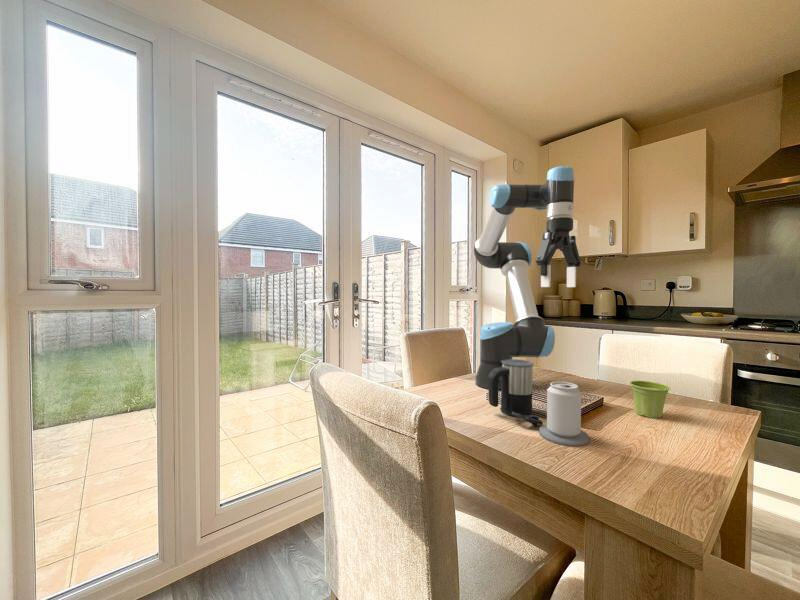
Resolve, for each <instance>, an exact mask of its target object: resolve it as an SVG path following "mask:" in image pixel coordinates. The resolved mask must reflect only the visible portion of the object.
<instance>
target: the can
mask: <svg viewBox="0 0 800 600" xmlns="http://www.w3.org/2000/svg"><path fill="white" fill-rule="evenodd" d="M549 385H550V386H549V387H548V388H547V390H546V424H547V428H548V429H549V430H550V431H551V433H553V434H555V435H557V436H560V437H566V438H572V437H576V436H577V435H578V434H580V432H581V430H582V429H581V428H582V391H580V389H579V385H577V384H575V383H573V382H568V381H567V382H566V381H551V382H550V383H549Z"/></svg>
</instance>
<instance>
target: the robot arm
mask: <svg viewBox="0 0 800 600" xmlns="http://www.w3.org/2000/svg"><path fill="white" fill-rule="evenodd" d="M574 173H575V172H574V168H573V167H572V166H569V165H561V166H559V165H558V166H555V167H553V168H550V169H549V170H548V171H547V174H546V182H545V183H543V184H507V183H504V184H495V185H493V186H492V188H491V191H490V195H489V202H490V203H489V204H490V206H491V210H490V212H489V215H488V218H487V220H486V222H485V225H484V227H483V230H482V232H481V235H480V237H479V238H477V240H476V241H475V243H474V246H473V254H474V256H475V259H476V261H477V262H478V263H479V264H480V265H482V266H483V267H485V268H487V269H500V272H501V274H502V275H503V276H505V278H506V282H507V286H508V292H509V296H510V300H511V304H512V309H513V314H514V318H515V321H514V323H512V322H509V321H503V322H501V321H500V322H499V321H498V322H493V323H486V324H484V325H483V326H481V328H480V335H479V339H480V344H479V346H480V349H479V355H480V356H479V357H480V358H479V359H480V361H479V362H480V363H479V366H478V369H477V372H476V375H475V379H474V380H475V381H474V383H475V385H476V386H478V387H480V388H481V389H482V388H483V389H487V390H488V376H489V374H490V372H491V371H492V370H493V369H494V368H498V367H502V362H501V361H502V360H508V359H513V358H537V359H538V358H545V357H548V356H550V355H551V354H552V352H553V351H554V348H555V342H556V341H555V340H556V337H555V335H556V334H555V331H554V328H553V327H552V326H551V325H546V323H545V319H544V318H543V317H541V316H539V313H538V309H537V306H536V302H535V298H534V294H533V291H532V287H531V284H530V280H529V275H528V273H527V271H528V270H529V268H530V267H531V264H532V259H533V258H532V256H533V255H532V250H531V248H530V246H529V245H528V244H527V243H525V242H520V241H515V242H504V241H501V242H500V239H501V238H502V236H503V234H504V232H505V230H506V228H507V226H508V224H509V222H510V219H511V217H512V216H513V213H514V212H515V210H516V209H517V208H525V209H526V208H528V209H530V208H531V209H533V210H535V211H542V210H546V219H547V221H546V232H543V233H542V238H541V239H542V240H541V243H540V246H539V249H538V251H537V255H536V258H535V263H536V265H537V266H540V287H541V288H551V283H552V282H551V280H552V278H551V275H552V274H551V270H552V269H551V268H552V267H551V266H552V265H551V264H550V262H551V260H552V259H553V256H554V255H555V253H556V251H557V250H559V251H560V252H562V254H563V257H564V259H565V260H566V264H567V265H568V266H566V288H577V268H578V267H580V266H581V265H582V263H581V259H580V258H581V257H580V254H579V250H578V247H577V246H578V245H577V241H576V240H577V239H576V235H570V232H572V231H573V230H574V219H573V217H574V208H575V205H574V200H575V199H574V193H575V191H574V189H575V178H574V177H575V176H574ZM501 384H502V376H500V377H499V379H498V391H500V390H499V389H501Z"/></svg>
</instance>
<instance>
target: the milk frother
mask: <svg viewBox="0 0 800 600" xmlns="http://www.w3.org/2000/svg"><path fill="white" fill-rule="evenodd" d="M501 362H502V367H498V368H494V369H493V370H492V371H491V372H490V374H489V376H488V389H487V390H488V402H489V404H490V406H492V407H494V408H497V407H499V390H498V379H499V377H500V376H502V384H501V390H500V393H501V395H500V409H499V410H500V411H501V413H503V414H505V415H507V416H512V417H517V418H520V419H523V420H524V421H526V422H528V423H529V424H531V425H532V426H535V427H537V426H538V424H539V425H544V424H543V423H544V422H543V420H542V419H541V418H539V416H538V415H536V414H534V411H533V374H534V372H533V371H534V369H533V367H534V364H535V363H534V362H533V361H529V360H524V359H517V358H514V359H513V358H512V359H508V360H502V361H501Z"/></svg>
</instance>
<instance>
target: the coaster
mask: <svg viewBox="0 0 800 600" xmlns="http://www.w3.org/2000/svg"><path fill="white" fill-rule="evenodd" d="M539 435H540V437H541V438H543V439H545V440H547V441H548V442H551V443H553V444H557V445H559V446H560V445H561V446H567V447H580V446H581V447H582V446H585V445H588V444H589V442H590V435H589V434H588V433H587V432H586V431H584V430H582V429H581V432H580V434H578V435H577V436H576V437H572V438H566V437H560V436H557V435H555V434H553V433H551V431H550V430H549V429H548V428H547V423H546V424H542V425H541V426H540V427H539Z"/></svg>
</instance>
